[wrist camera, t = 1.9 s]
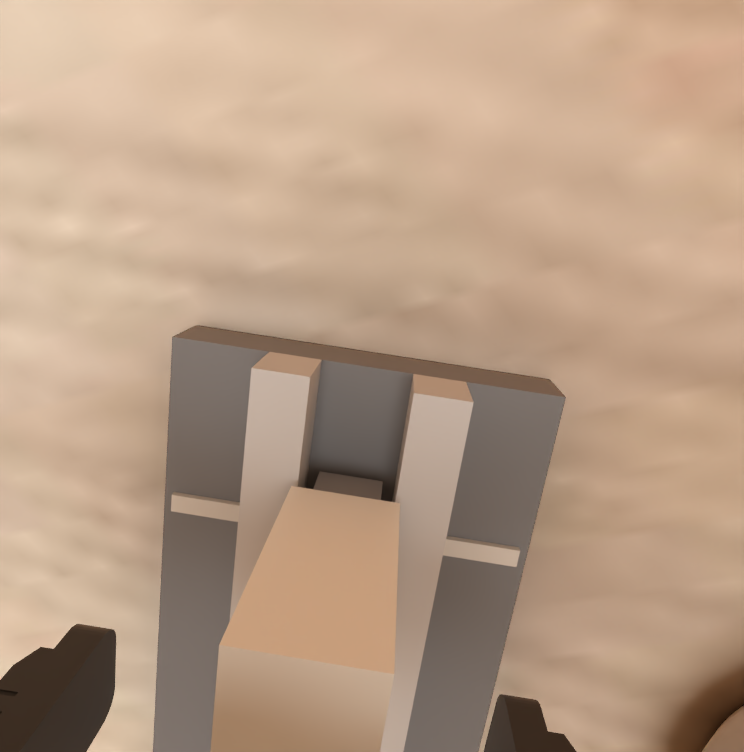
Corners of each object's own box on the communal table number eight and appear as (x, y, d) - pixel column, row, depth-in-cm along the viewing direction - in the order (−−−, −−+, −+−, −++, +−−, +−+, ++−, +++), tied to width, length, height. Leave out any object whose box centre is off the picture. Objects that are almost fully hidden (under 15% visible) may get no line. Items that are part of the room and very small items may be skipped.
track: (549, 379, 19) (585, 419, 15) (417, 935, 26) (419, 1060, 22) (196, 325, 19) (141, 350, 15) (163, 890, 26) (121, 1005, 22)
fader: (401, 469, 17) (394, 674, 9) (377, 605, 19) (354, 886, 11) (305, 454, 17) (218, 645, 9) (289, 590, 19) (201, 858, 11)
